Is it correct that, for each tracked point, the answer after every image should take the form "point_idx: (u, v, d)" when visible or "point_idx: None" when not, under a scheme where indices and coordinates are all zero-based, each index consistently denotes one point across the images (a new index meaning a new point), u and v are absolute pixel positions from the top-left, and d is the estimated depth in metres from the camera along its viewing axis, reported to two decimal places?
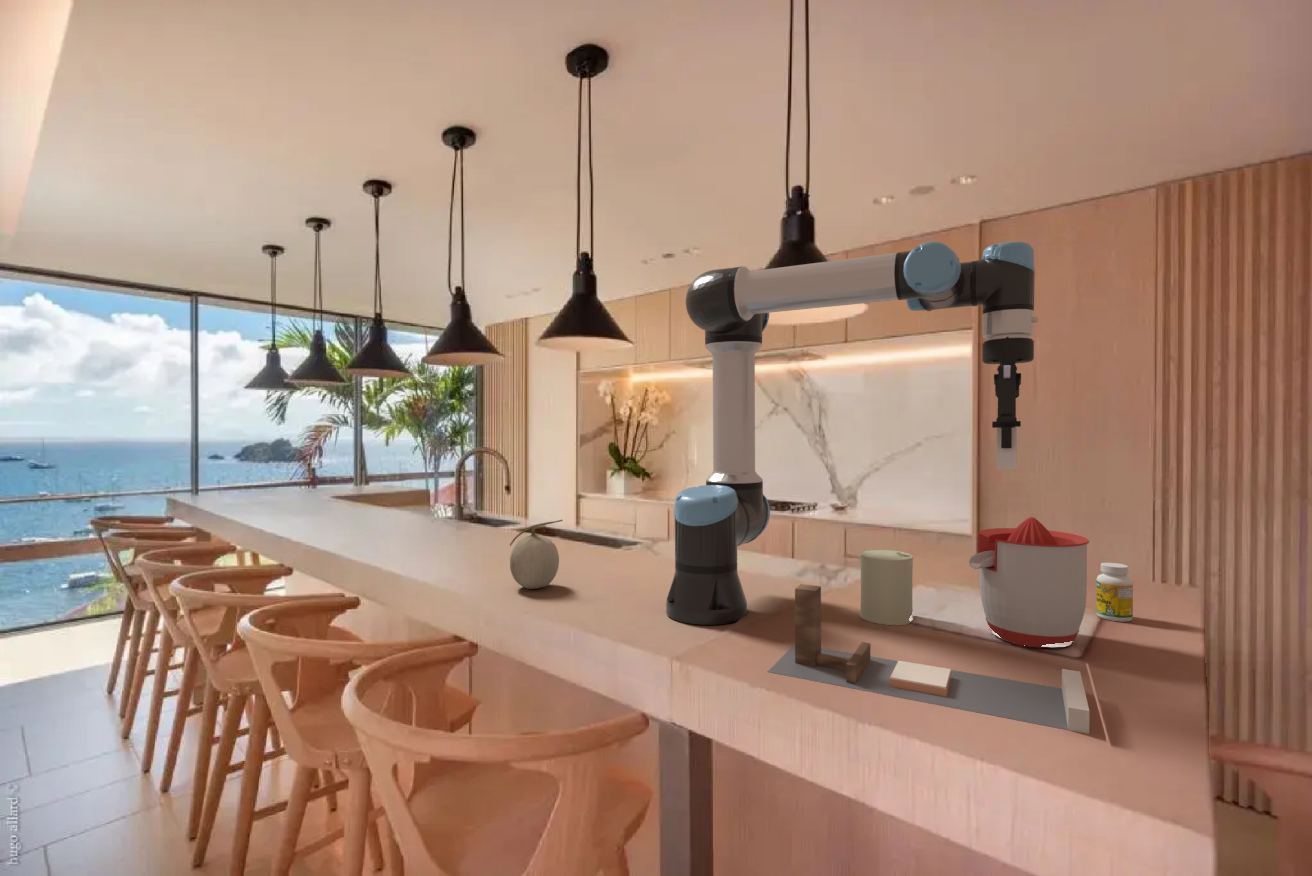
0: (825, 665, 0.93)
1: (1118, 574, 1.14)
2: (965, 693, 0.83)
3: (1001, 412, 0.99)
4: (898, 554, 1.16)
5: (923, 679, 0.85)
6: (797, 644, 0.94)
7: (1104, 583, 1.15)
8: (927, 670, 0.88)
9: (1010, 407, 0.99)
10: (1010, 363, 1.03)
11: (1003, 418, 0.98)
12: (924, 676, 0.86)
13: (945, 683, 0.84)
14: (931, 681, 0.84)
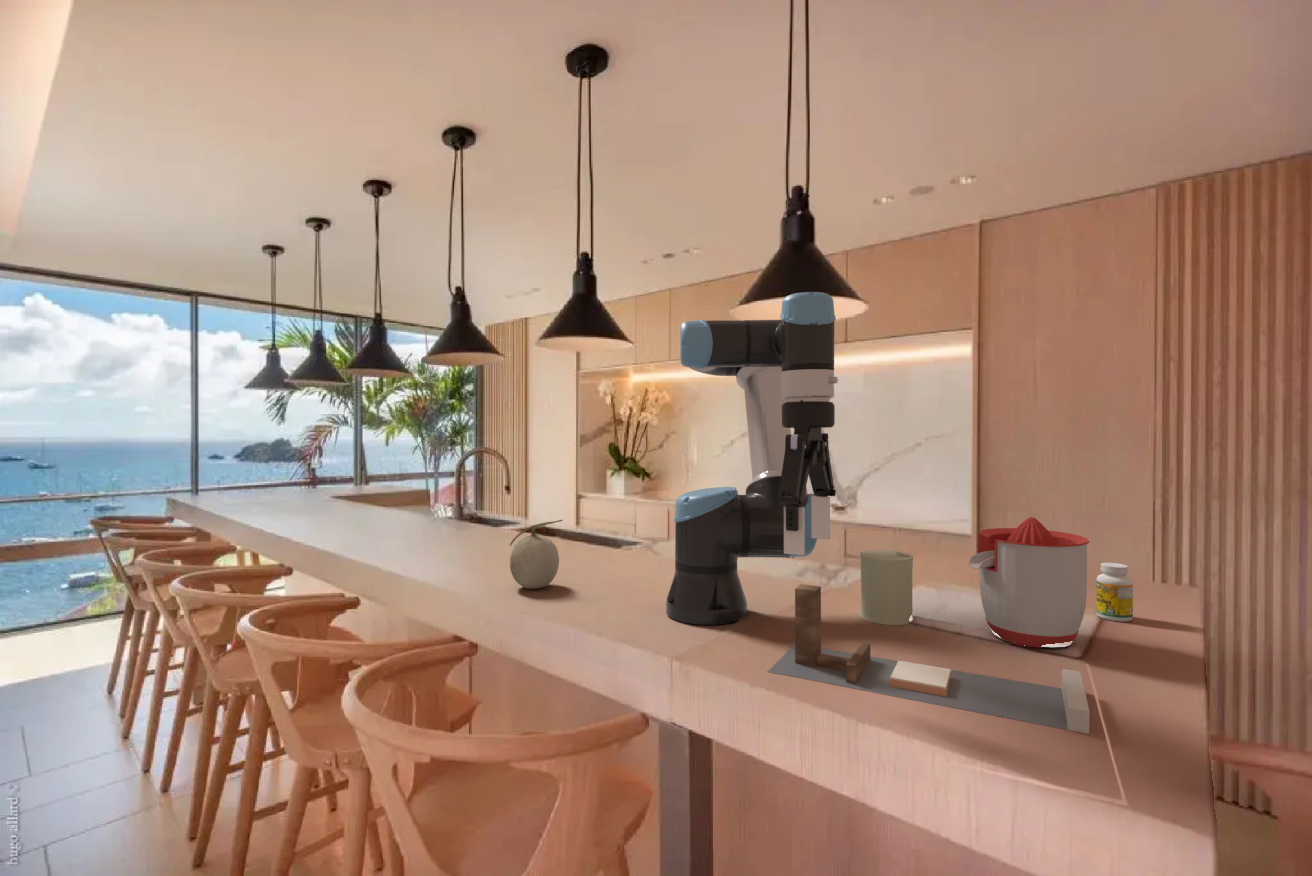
0: (825, 665, 0.93)
1: (1118, 574, 1.14)
2: (965, 693, 0.83)
3: (782, 490, 0.86)
4: (898, 554, 1.16)
5: (923, 679, 0.85)
6: (797, 644, 0.94)
7: (1104, 583, 1.15)
8: (927, 670, 0.88)
9: (792, 485, 0.86)
10: (803, 431, 0.90)
11: (783, 498, 0.85)
12: (924, 676, 0.86)
13: (945, 683, 0.84)
14: (931, 681, 0.84)
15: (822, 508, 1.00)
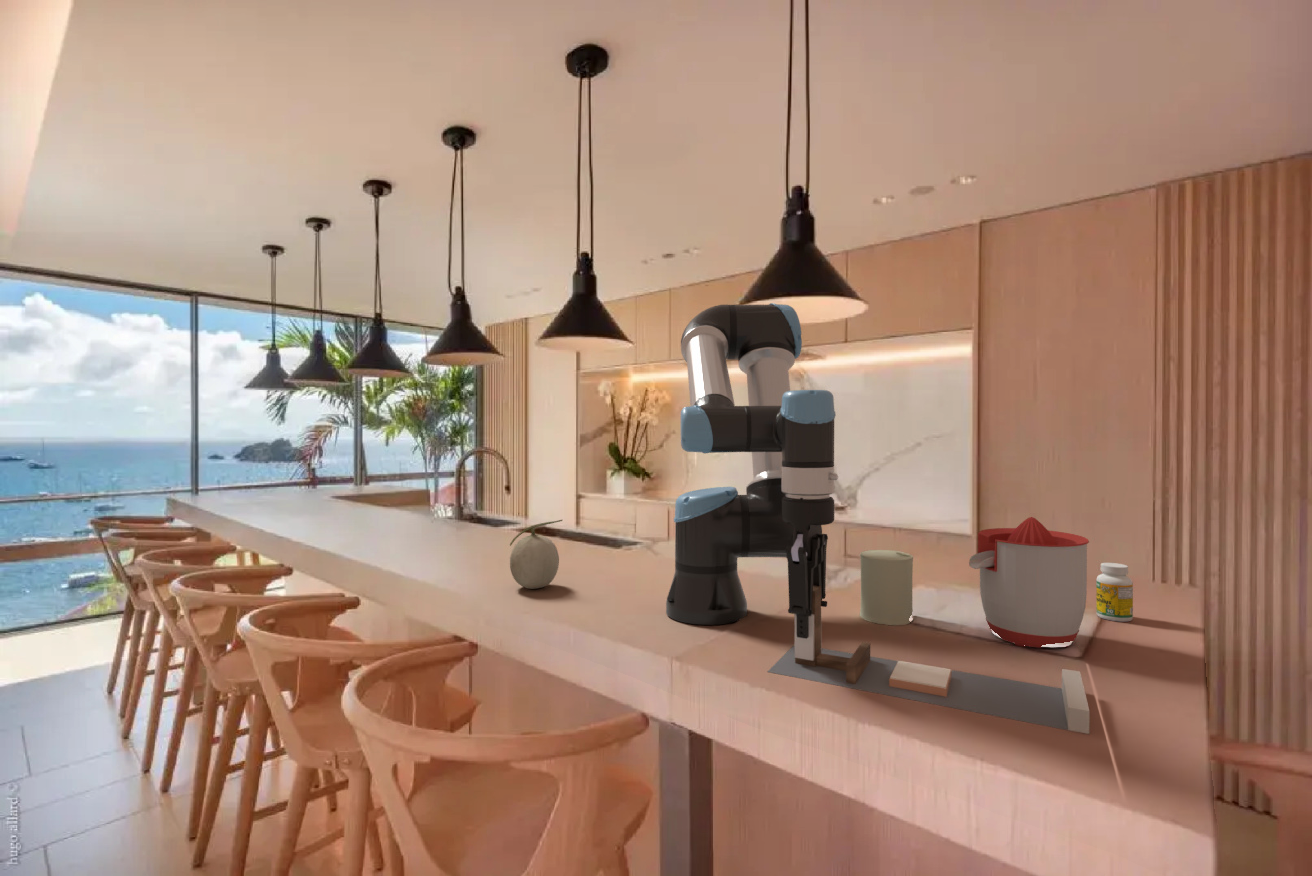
0: (825, 665, 0.93)
1: (1118, 574, 1.14)
2: (965, 693, 0.83)
3: (792, 603, 0.90)
4: (898, 554, 1.16)
5: (923, 679, 0.85)
6: None
7: (1104, 583, 1.15)
8: (927, 670, 0.88)
9: (801, 599, 0.90)
10: (803, 529, 0.91)
11: (795, 611, 0.90)
12: (924, 676, 0.86)
13: (945, 683, 0.84)
14: (931, 681, 0.84)
15: None
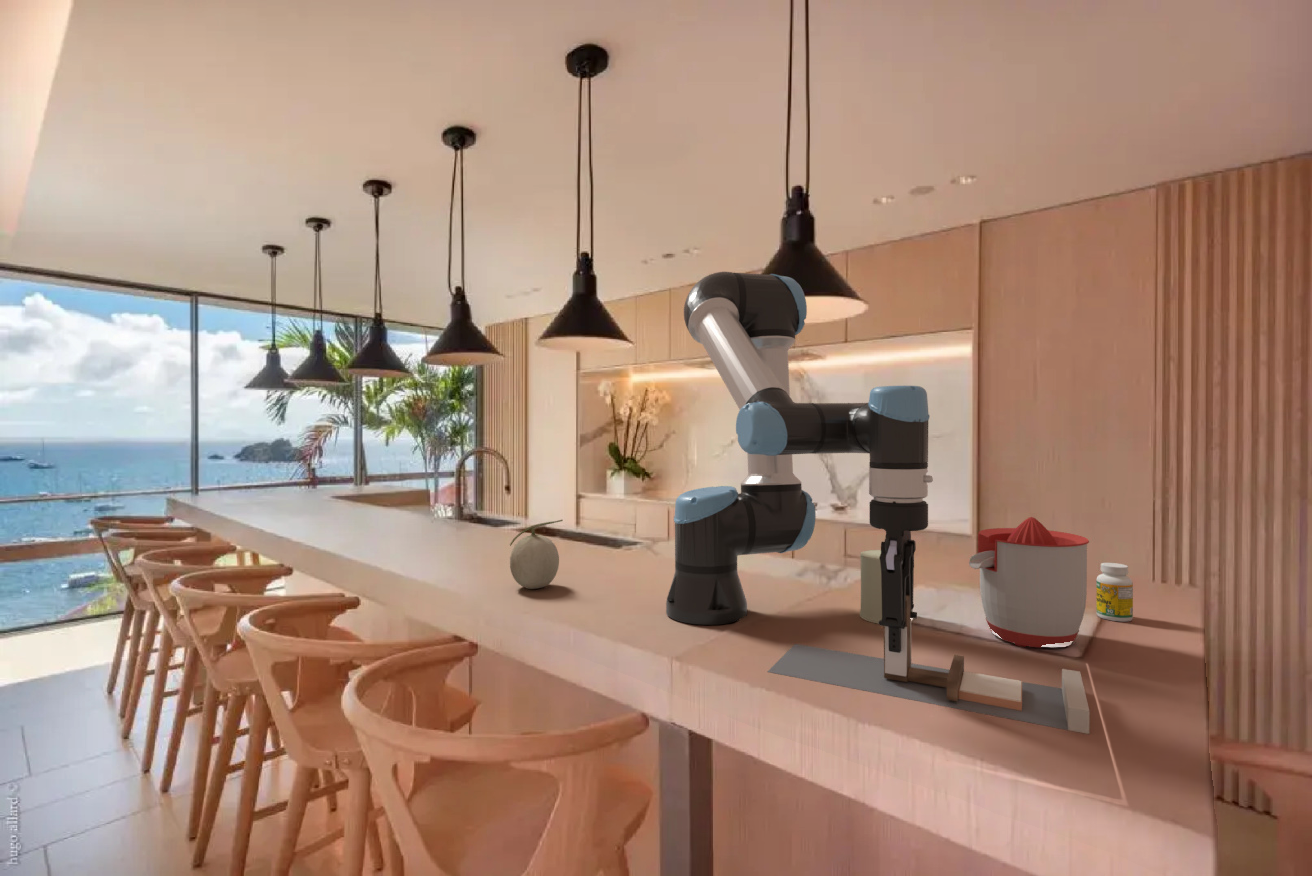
0: (918, 680, 0.86)
1: (1118, 574, 1.14)
2: None
3: (886, 615, 0.84)
4: None
5: (995, 692, 0.81)
6: None
7: (1104, 583, 1.15)
8: (997, 682, 0.84)
9: (895, 610, 0.83)
10: (897, 535, 0.85)
11: (888, 623, 0.84)
12: (995, 688, 0.82)
13: (1019, 696, 0.79)
14: (1004, 694, 0.80)
15: None
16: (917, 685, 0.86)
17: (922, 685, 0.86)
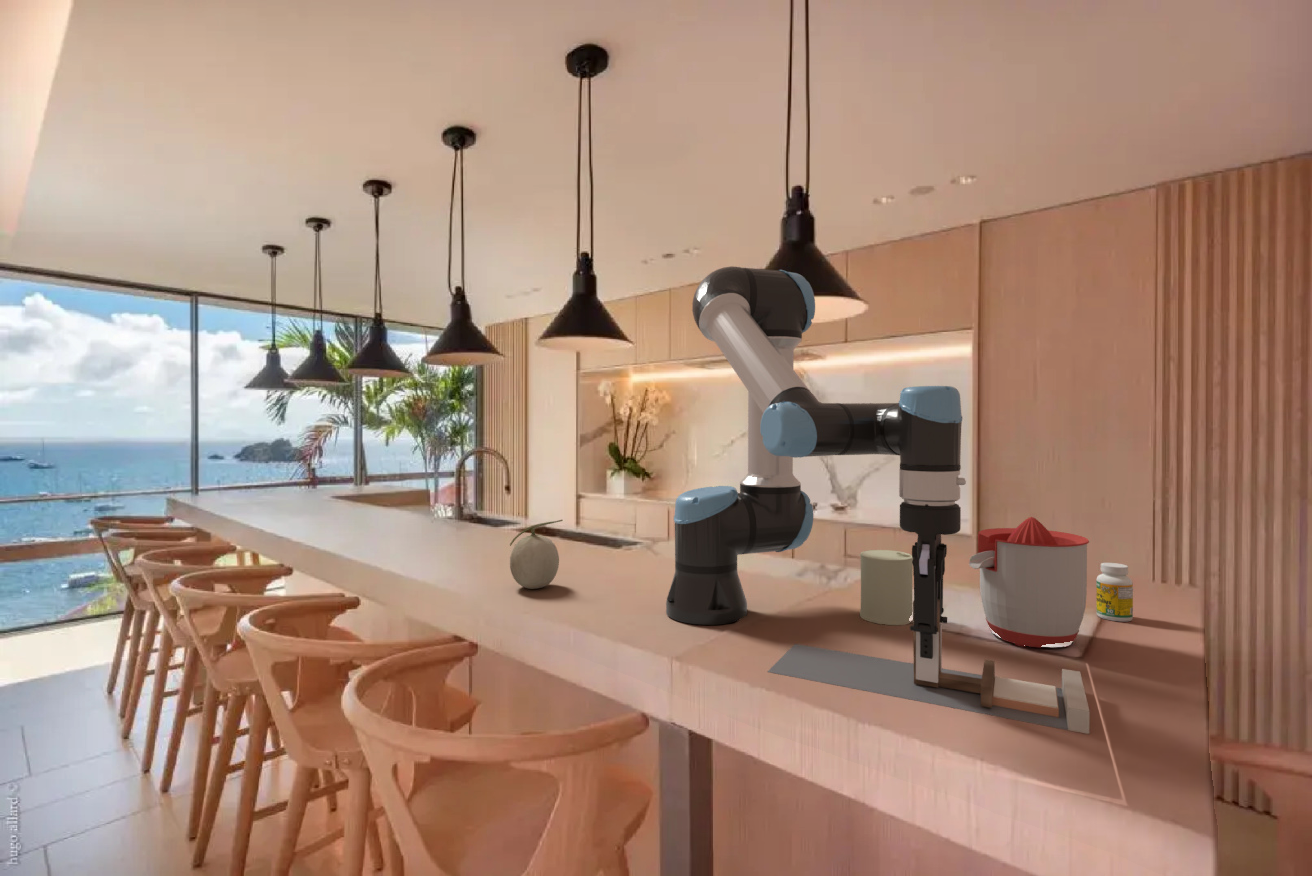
0: (949, 686, 0.84)
1: (1118, 574, 1.14)
2: (965, 693, 0.83)
3: (918, 620, 0.82)
4: (898, 554, 1.16)
5: (1030, 698, 0.79)
6: None
7: (1104, 583, 1.15)
8: (1030, 687, 0.82)
9: (928, 615, 0.81)
10: (929, 538, 0.83)
11: (921, 628, 0.82)
12: (1030, 694, 0.80)
13: (1055, 702, 0.78)
14: (1039, 700, 0.78)
15: None
16: (917, 685, 0.86)
17: (922, 685, 0.86)
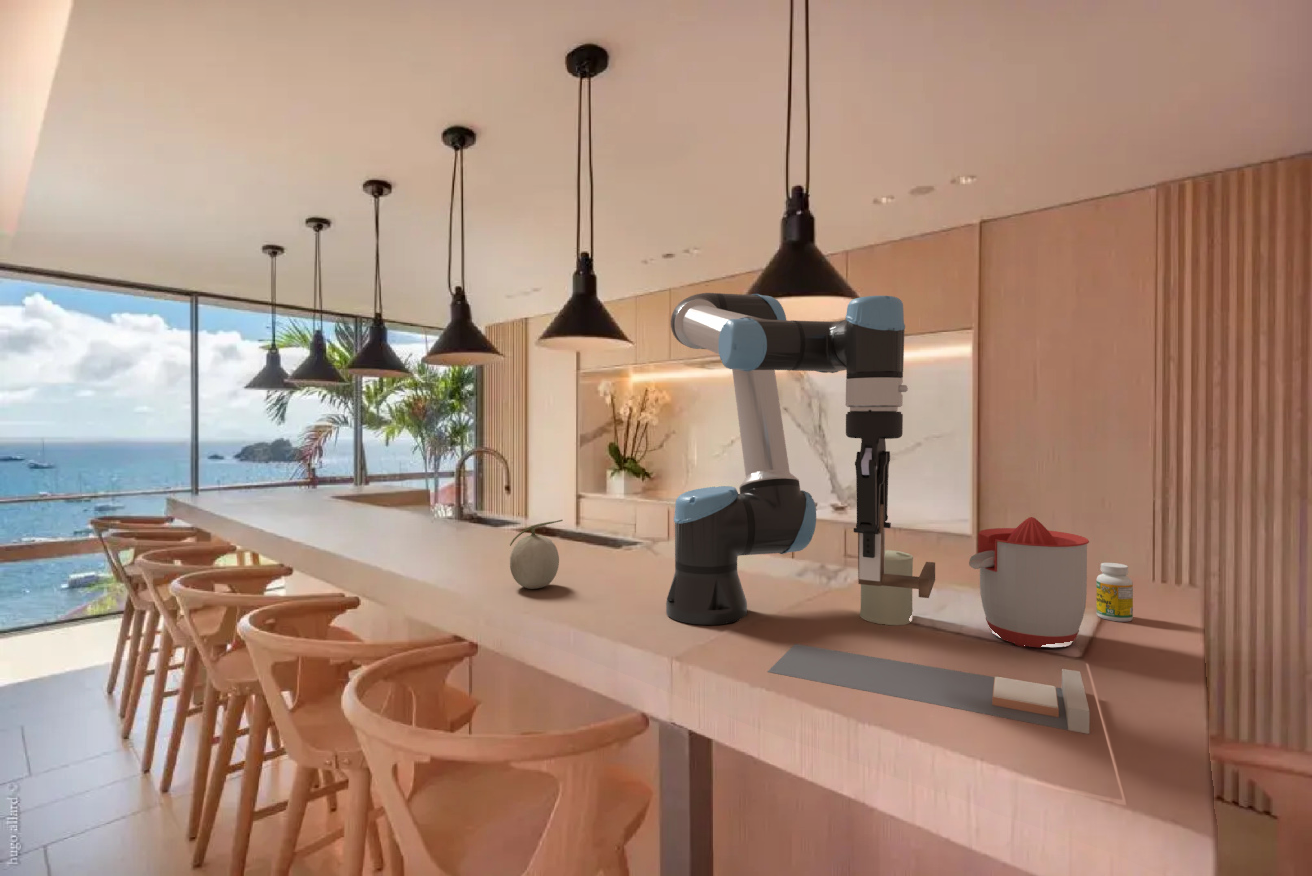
0: (891, 584, 0.88)
1: (1118, 574, 1.14)
2: (965, 693, 0.83)
3: (860, 520, 0.86)
4: (898, 554, 1.16)
5: (1030, 698, 0.79)
6: None
7: (1104, 583, 1.15)
8: (1030, 687, 0.82)
9: (870, 514, 0.85)
10: (872, 442, 0.86)
11: (863, 528, 0.86)
12: (1030, 694, 0.80)
13: (1055, 702, 0.78)
14: (1039, 700, 0.78)
15: None
16: (917, 685, 0.86)
17: (922, 685, 0.86)
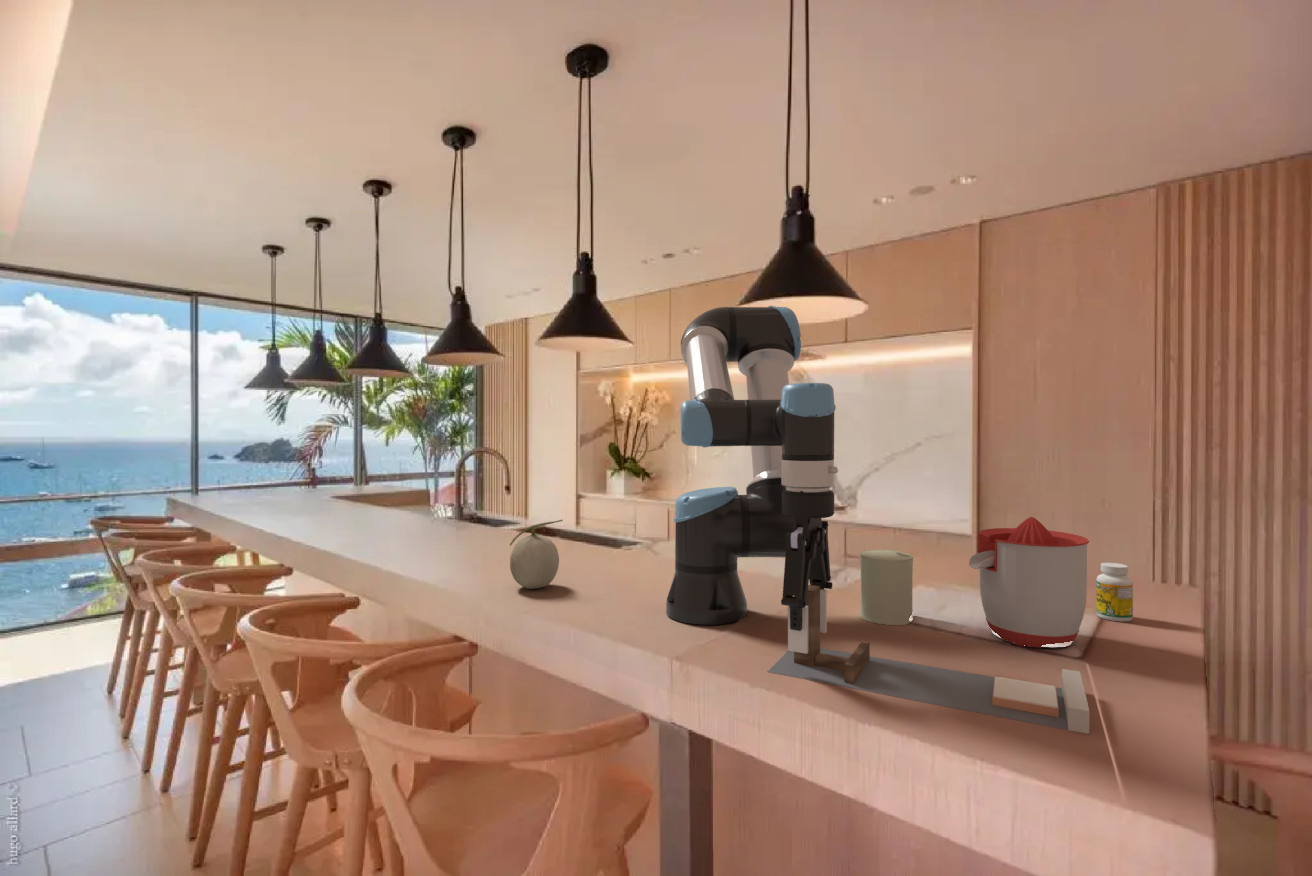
0: (824, 665, 0.93)
1: (1118, 574, 1.14)
2: (965, 693, 0.83)
3: (786, 593, 0.88)
4: (898, 554, 1.16)
5: (1030, 698, 0.79)
6: None
7: (1104, 583, 1.15)
8: (1030, 687, 0.82)
9: (795, 587, 0.87)
10: (803, 522, 0.91)
11: (788, 601, 0.88)
12: (1030, 694, 0.80)
13: (1055, 702, 0.78)
14: (1039, 700, 0.78)
15: None
16: (917, 685, 0.86)
17: (922, 685, 0.86)
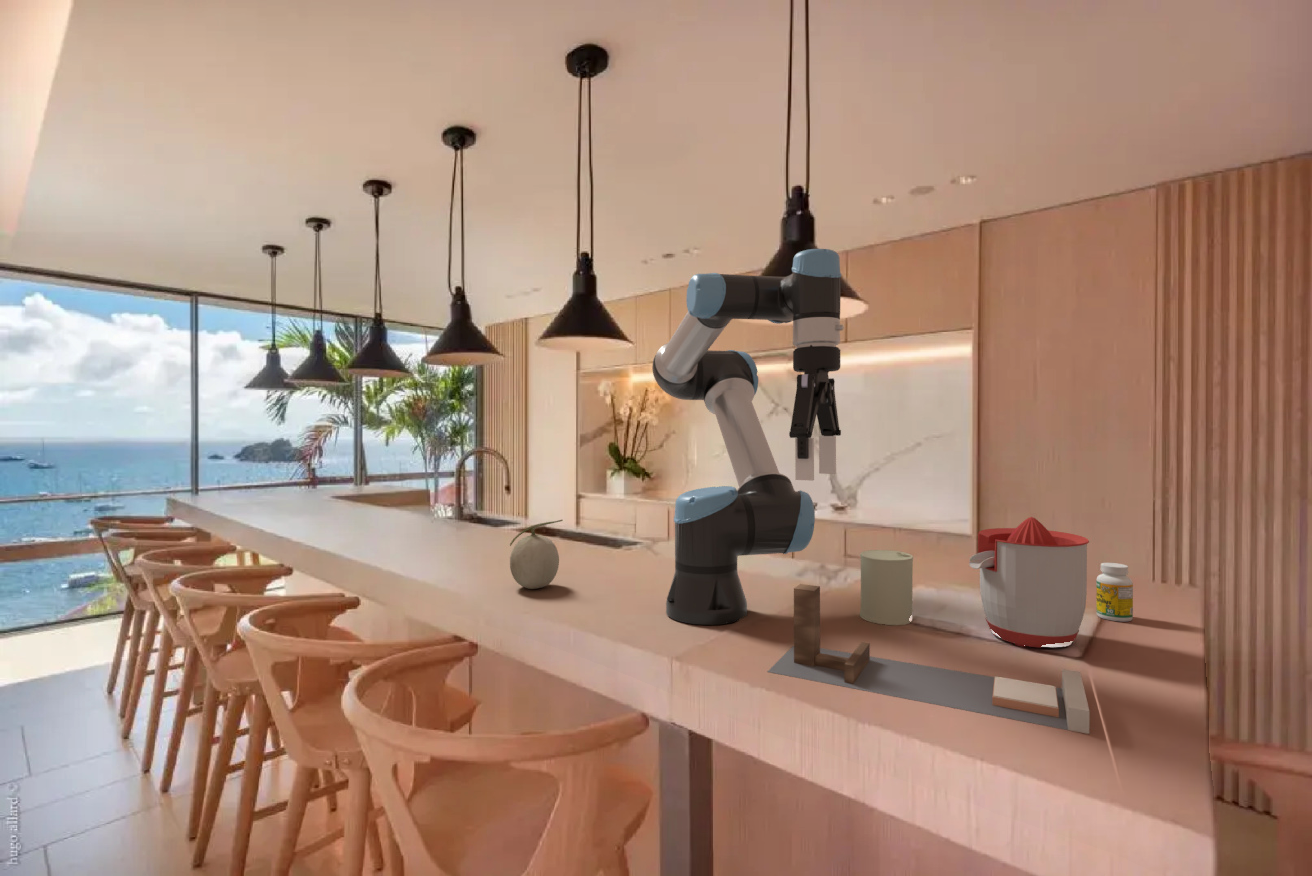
0: (824, 665, 0.93)
1: (1118, 574, 1.14)
2: (965, 693, 0.83)
3: (794, 422, 0.97)
4: (898, 554, 1.16)
5: (1030, 698, 0.79)
6: (796, 644, 0.94)
7: (1104, 583, 1.15)
8: (1030, 687, 0.82)
9: (803, 417, 0.97)
10: (812, 372, 1.02)
11: (795, 428, 0.97)
12: (1030, 694, 0.80)
13: (1055, 702, 0.78)
14: (1039, 700, 0.78)
15: (829, 446, 1.11)
16: (917, 685, 0.86)
17: (922, 685, 0.86)
